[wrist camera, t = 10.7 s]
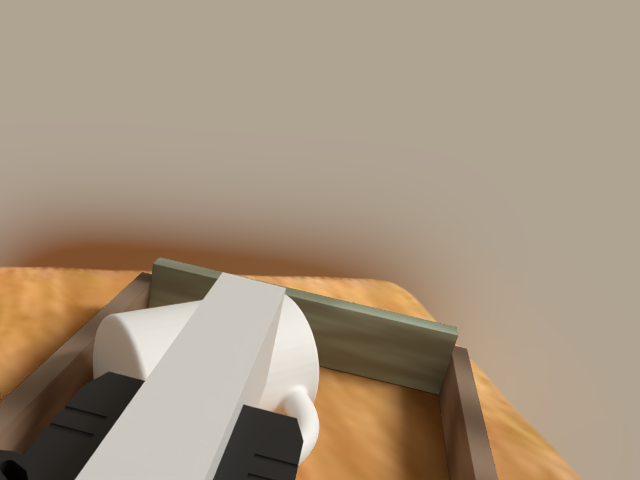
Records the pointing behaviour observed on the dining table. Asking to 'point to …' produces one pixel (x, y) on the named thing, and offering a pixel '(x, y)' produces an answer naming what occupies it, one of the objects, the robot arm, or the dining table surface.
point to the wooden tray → (333, 352)
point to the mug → (167, 321)
